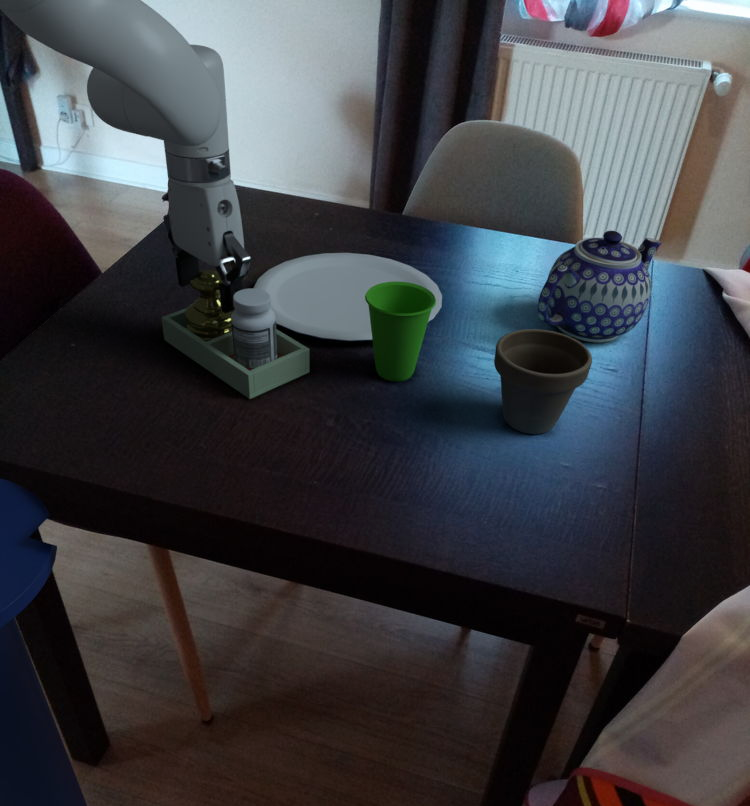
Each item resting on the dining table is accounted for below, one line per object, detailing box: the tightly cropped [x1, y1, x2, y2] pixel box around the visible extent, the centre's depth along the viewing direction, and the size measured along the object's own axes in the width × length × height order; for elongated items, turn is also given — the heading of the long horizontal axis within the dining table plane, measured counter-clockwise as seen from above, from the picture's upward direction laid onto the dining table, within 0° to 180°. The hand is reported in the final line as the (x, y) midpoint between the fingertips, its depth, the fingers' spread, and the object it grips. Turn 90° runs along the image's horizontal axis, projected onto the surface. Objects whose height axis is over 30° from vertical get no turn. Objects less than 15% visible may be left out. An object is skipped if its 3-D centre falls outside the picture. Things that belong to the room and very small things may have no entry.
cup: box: [365, 282, 436, 382], centre depth 103 cm, size 9×9×11 cm
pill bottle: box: [231, 287, 278, 371], centre depth 101 cm, size 6×6×10 cm
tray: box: [160, 307, 311, 400], centre depth 106 cm, size 10×19×4 cm, turn 45°
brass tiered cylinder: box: [185, 269, 234, 342], centre depth 106 cm, size 7×8×10 cm
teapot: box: [536, 230, 662, 344], centre depth 114 cm, size 25×15×15 cm, turn 125°
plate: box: [253, 252, 443, 343], centre depth 121 cm, size 29×29×2 cm
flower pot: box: [493, 328, 593, 435], centre depth 96 cm, size 12×11×10 cm
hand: (210, 296), depth 105 cm, fingers open, 9 cm apart
